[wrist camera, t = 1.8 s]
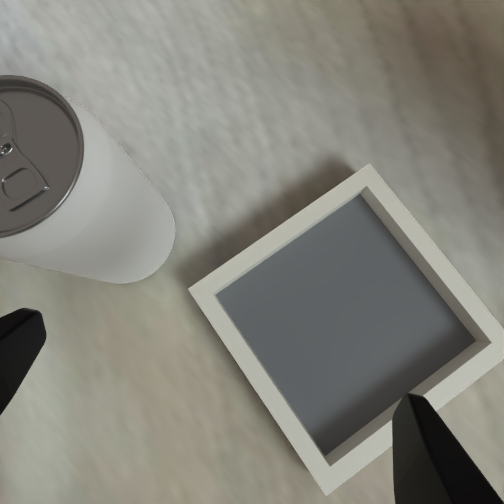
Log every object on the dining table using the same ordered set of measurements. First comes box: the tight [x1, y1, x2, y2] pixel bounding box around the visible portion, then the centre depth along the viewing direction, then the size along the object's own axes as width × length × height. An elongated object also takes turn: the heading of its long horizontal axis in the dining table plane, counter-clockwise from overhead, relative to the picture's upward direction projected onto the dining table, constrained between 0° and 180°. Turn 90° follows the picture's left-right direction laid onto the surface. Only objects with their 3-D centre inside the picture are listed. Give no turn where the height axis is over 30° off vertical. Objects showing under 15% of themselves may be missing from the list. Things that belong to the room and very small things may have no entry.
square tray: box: [188, 163, 504, 496], centre depth 22 cm, size 13×13×2 cm
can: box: [0, 75, 175, 284], centre depth 18 cm, size 6×6×12 cm
